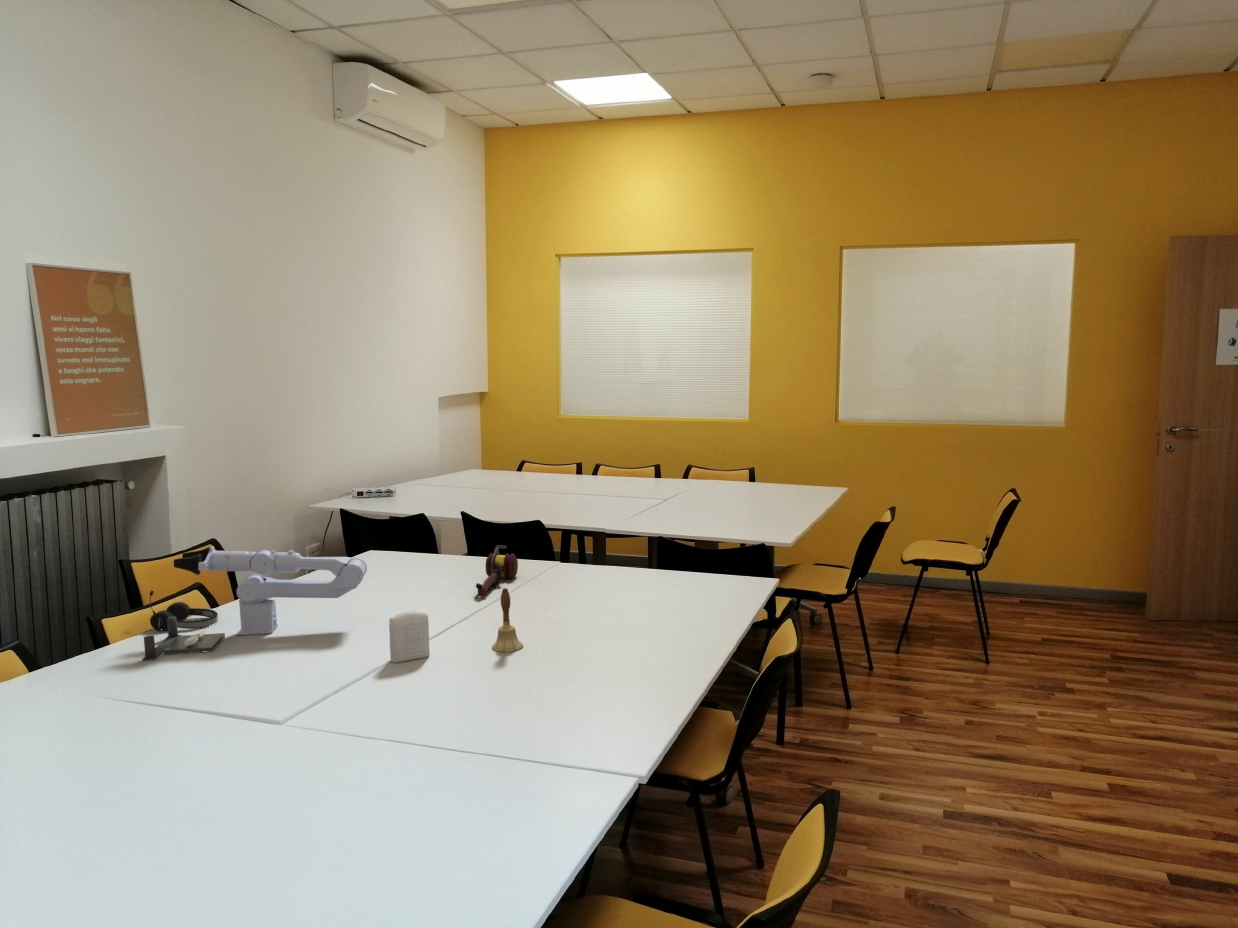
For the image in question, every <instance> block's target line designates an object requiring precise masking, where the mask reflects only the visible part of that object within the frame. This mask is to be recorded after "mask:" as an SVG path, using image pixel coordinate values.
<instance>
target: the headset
mask: <svg viewBox="0 0 1238 928" xmlns="http://www.w3.org/2000/svg"><path fill="white" fill-rule="evenodd" d="M154 593H155V591H154V590H150V592H149V605H150V609H151V611H152V614H153V615H151V617H150V619H149V622H150V623H149V624H150V626H151V628H153V629H154V630H156V631H168V625H167V618H168V617H176V618H177V629H185V630H197V629H198V628H199V629H204V628H203V627H205V628H208V627H210V626H209V625H211V626H213V625H212V624H214V623H215V624H216V623H217V622H218V615H219V614H218V612H217V611H215V610H213V609H210V608H209V609H208V608H198V607H197V608H196V607H194V608H192V607H190V606H189V604H187V603H185V602H182V601H177V602H173V603H172V604H169V606H168V607H167V608H166V610H160V611H158V612H156V611H154V609H153V607H152V603H151V601H152V600H151V599H152V596H153V595H154ZM190 616H198V617H205V618H204V619H195V620H186V619H187V618H188V617H190ZM215 624H214V625H215ZM207 626H208V627H207ZM161 629H162V630H161Z"/></svg>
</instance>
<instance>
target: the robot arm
mask: <svg viewBox="0 0 1238 928" xmlns="http://www.w3.org/2000/svg"><path fill="white" fill-rule="evenodd" d="M173 568H175V569H181V570H184V571H188V572H191V573H193V574H194V575H197V576H199V575H201V571H208V572H211V573H212V572H255V573H253V574H252V573H251V574H249V576H247V577H246V578H245V579H244V580H243V582H241V583H239V585H238V586H237V588H236V596H237V598H238V599H239V601H238V603H239V615H240V616H239V617H240V630H239V631H238V632H237V633H236V635H237V636H245V635H246V636H247V635H248V636H250V635H263V634H265V635H266V634H272V633H274V630H276V628H277V627H278V621H277V620H278V619H277V607H276V602H275V601H276V600H275V599H272V598H287V599H289V598H294V599H295V598H296V599H297V598H298V599H299V598H303V599H304V598H305V599H308V598H309V599H310V598H311V599H312V598H313V599H338V598H340V597H342V596H344V595H345V594H347V593H349V592H351V591H353V590H355V589H356V588H357V587H358V586H359V585H360V584H361V582H362V581H363V579H364V577H365V575H366V573H367V572H368V571H367V570H368V566H367V563H366V562H365V561H364V560H363V559H361V558H359V557H348V556H309V557H308V556H302V554H300V553H299V552H295V550H292V549H291V550H290V549H289V550H288V552H287V551H286V552H285V551H276V550H267V549H266V548H264V549H260V550H259V551H247V550H246V551H244V550H215V546H213V545H211V546H208V547H205V548H203V549H199V550H193V551H188V552H184V553H183V552H182V557H180V558H175V559H173ZM302 569H306V570H315V571H316V570H319V571H328V572H331V573H332V574H333V575H334V576H335V577H334V578H333V579H332V580H324V579H323V580H320V579H318V580H317V579H316V580H315V579H312V580H311V579H277V578H273V577H266V576H263V575H265V574H268V573H269V572H272V573H293V574H295V573H298V572H300V570H302Z"/></svg>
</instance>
